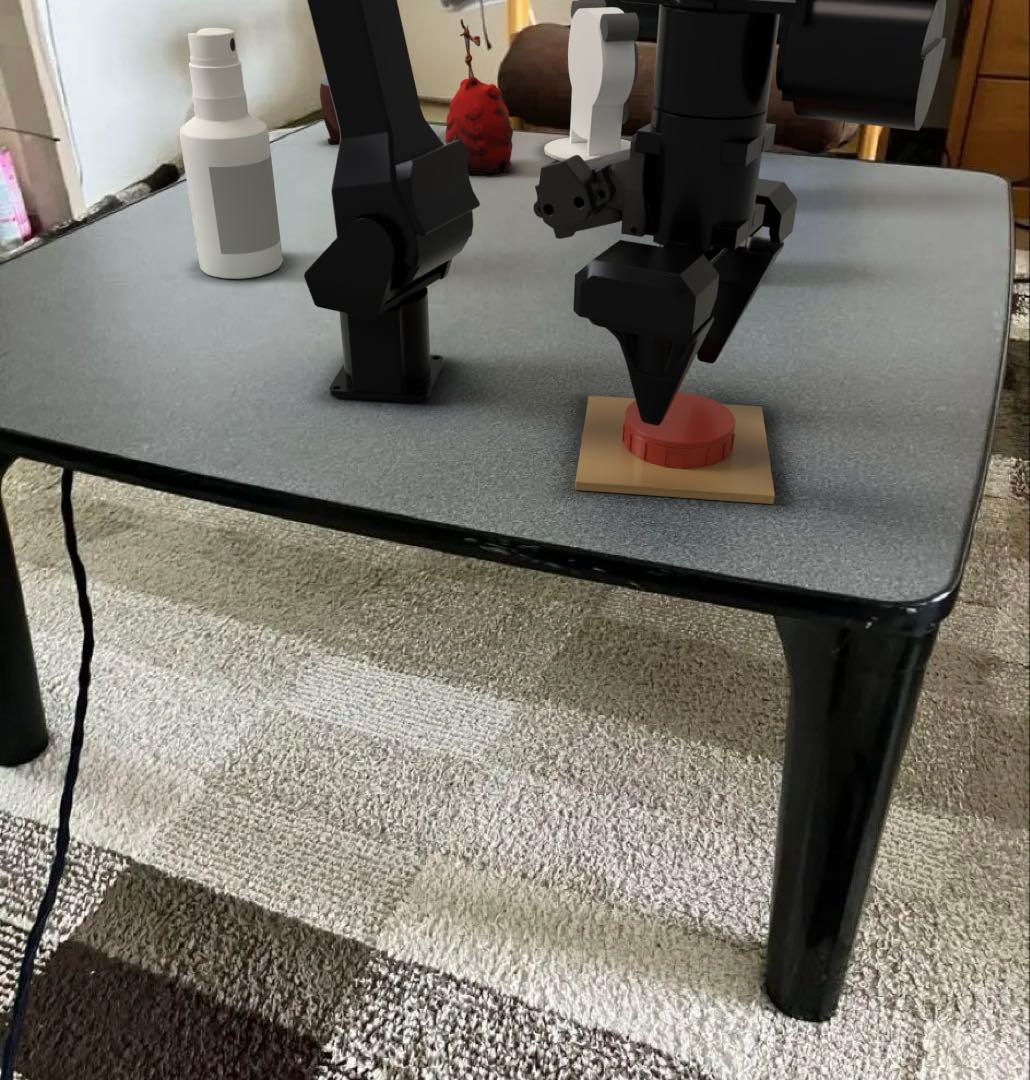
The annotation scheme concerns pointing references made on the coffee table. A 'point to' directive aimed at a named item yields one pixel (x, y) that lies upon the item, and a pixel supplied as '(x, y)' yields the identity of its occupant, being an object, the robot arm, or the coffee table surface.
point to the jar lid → (682, 433)
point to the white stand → (598, 80)
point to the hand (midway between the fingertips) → (680, 390)
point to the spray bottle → (228, 166)
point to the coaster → (623, 472)
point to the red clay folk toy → (480, 121)
